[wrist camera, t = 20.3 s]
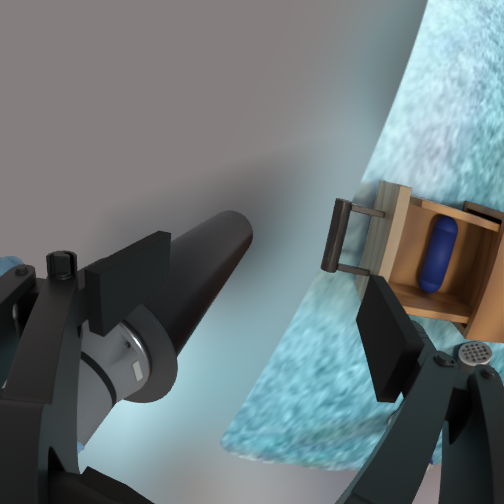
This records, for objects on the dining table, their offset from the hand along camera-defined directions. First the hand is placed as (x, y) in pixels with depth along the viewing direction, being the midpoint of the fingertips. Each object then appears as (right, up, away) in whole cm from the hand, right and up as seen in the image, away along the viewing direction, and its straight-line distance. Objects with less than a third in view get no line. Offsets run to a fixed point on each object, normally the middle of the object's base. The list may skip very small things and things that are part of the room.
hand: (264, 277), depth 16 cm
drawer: (+17, +2, +16) cm, 24 cm away
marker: (+19, +1, +14) cm, 24 cm away
